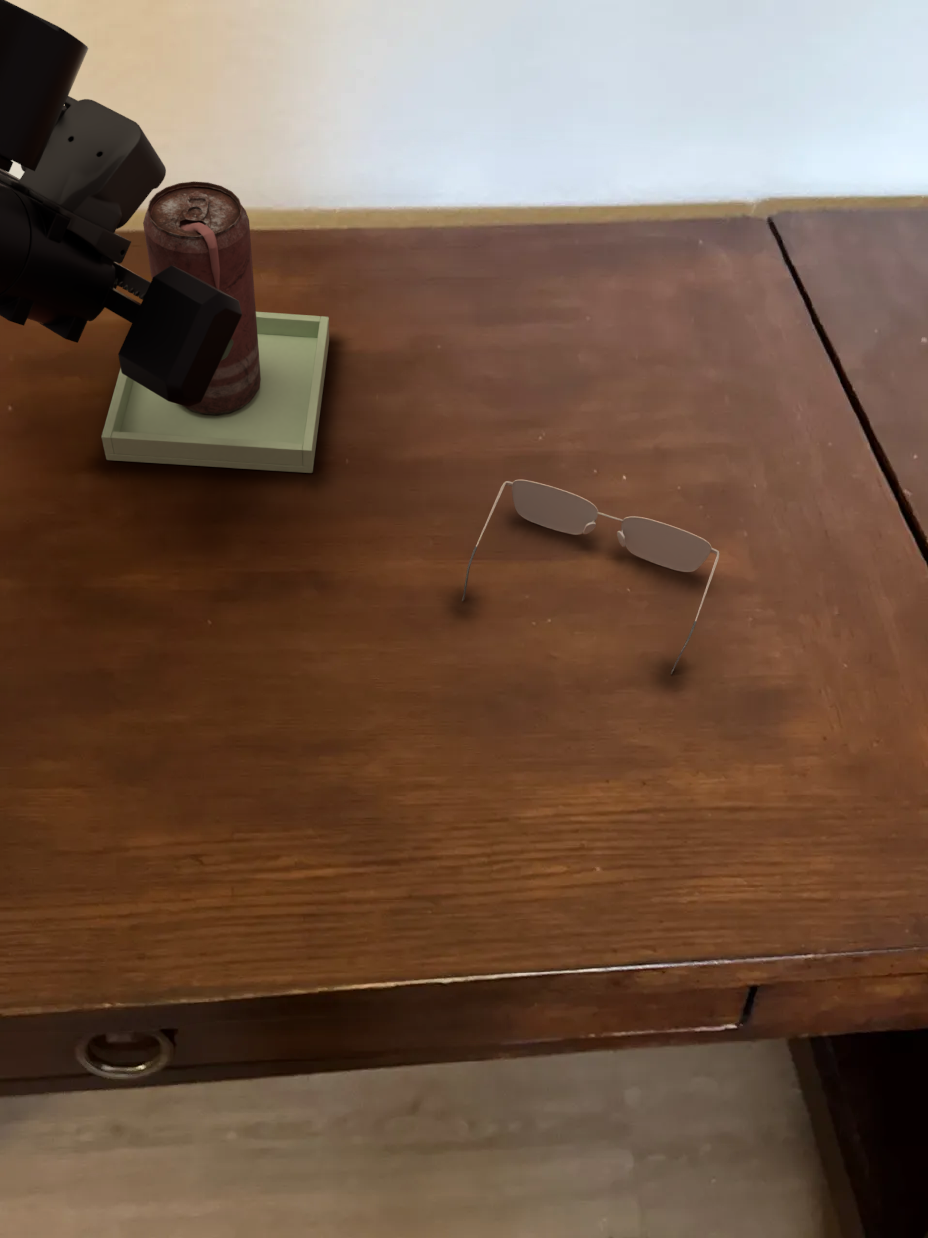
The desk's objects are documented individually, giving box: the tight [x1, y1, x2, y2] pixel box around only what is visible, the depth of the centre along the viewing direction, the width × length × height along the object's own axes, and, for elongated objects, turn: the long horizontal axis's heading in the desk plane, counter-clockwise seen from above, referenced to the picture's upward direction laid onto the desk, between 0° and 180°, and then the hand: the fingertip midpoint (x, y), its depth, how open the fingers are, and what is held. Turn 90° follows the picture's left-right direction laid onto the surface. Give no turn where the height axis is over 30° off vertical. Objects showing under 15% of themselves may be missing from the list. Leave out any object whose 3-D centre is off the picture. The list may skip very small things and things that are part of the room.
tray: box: [100, 311, 330, 474], centre depth 81 cm, size 13×13×2 cm
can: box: [142, 181, 261, 416], centre depth 76 cm, size 6×6×14 cm
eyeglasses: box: [461, 479, 720, 675], centre depth 73 cm, size 14×8×4 cm, turn 69°
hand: (170, 315), depth 73 cm, fingers open, 9 cm apart
